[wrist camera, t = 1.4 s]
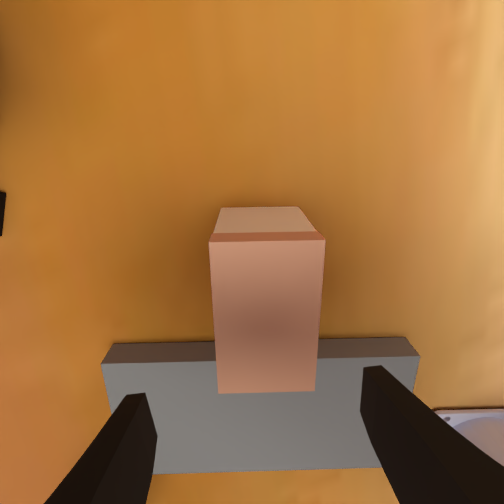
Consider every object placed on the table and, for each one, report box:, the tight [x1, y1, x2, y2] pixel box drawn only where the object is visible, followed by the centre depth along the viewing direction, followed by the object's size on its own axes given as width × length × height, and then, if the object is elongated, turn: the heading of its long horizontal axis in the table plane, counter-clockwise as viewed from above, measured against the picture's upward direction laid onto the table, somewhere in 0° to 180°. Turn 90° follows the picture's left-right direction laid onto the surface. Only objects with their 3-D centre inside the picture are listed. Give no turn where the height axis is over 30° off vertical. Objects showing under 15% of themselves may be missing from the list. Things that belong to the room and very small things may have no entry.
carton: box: [209, 206, 326, 394], centre depth 17 cm, size 8×5×6 cm, turn 1°
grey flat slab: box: [101, 337, 420, 474], centre depth 22 cm, size 20×10×2 cm, turn 91°
